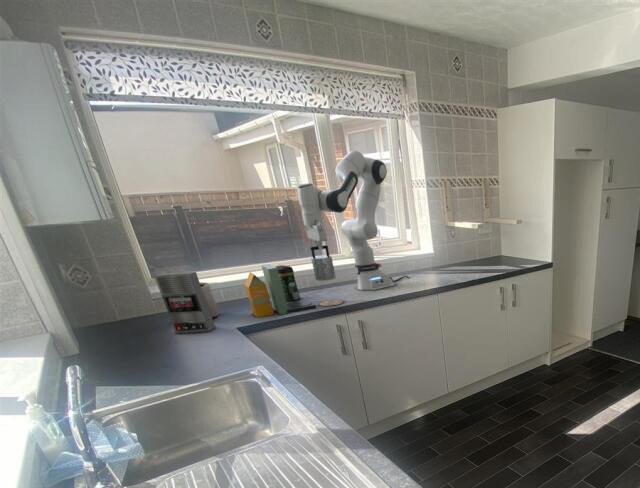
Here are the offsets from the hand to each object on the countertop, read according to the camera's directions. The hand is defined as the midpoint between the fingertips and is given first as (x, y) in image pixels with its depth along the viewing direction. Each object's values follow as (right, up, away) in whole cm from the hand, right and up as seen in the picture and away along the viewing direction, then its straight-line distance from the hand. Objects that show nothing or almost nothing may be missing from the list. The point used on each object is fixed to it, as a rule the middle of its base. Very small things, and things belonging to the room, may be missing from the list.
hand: (319, 249), depth 212 cm
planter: (-56, -36, -8) cm, 67 cm away
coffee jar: (-26, -21, +22) cm, 40 cm away
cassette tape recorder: (-43, -45, -26) cm, 67 cm away
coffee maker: (-15, -29, +5) cm, 33 cm away
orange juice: (-27, -33, -3) cm, 43 cm away
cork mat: (+1, -25, +12) cm, 28 cm away
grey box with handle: (+1, -14, +5) cm, 15 cm away
